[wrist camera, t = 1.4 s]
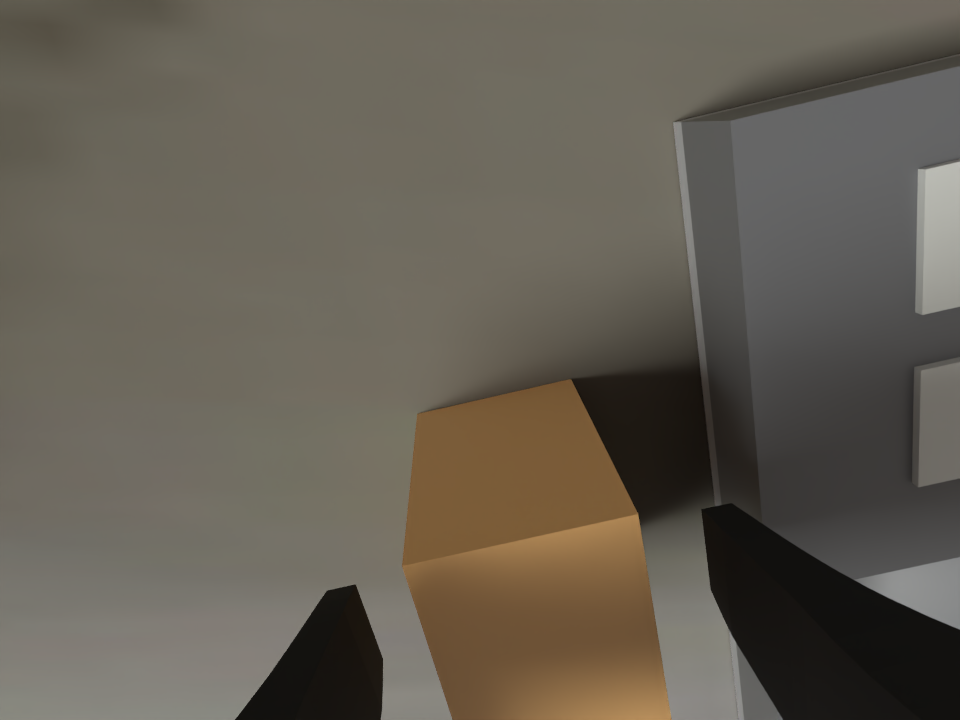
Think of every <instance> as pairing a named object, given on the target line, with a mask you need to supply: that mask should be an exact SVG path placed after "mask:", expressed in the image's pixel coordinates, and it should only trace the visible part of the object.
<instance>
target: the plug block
mask: <svg viewBox="0 0 960 720" xmlns="http://www.w3.org/2000/svg"><path fill="white" fill-rule="evenodd" d="M402 567H403V570H404V573H405V576H406V579H407V582H408V585H409V588H410V592H411V595H412V598H413V601H414V604H415V607H416V610H417V613H418V616H419V619H420V622H421V625H422V628H423V631H424V634H425V637H426V640H427V643H428V646H429V649H430V652H431V655H432V658H433V661H434V664H435V668H436V671H437V674H438V677H439V680H440V683H441V686H442V689H443V692H444V695H445V698H446V701H447V704H448V707H449V710H450V713H451V716H452V719H453V720H671V714H670V708H669V702H668V696H667V689H666V683H665V677H664V671H663V665H662V658H661V652H660V646H659V640H658V634H657V627H656V621H655V615H654V609H653V603H652V596H651V590H650V584H649V578H648V572H647V565H646V559H645V553H644V547H643V541H642V534H641V528H640V522H639V516H638V513H637V511H636V509H635V507H634V505H633V503H632V501H631V499H630V497H629V495H628V493H627V491H626V489H625V487H624V485H623V483H622V481H621V479H620V477H619V475H618V473H617V471H616V468H615V466H614V464H613V462H612V460H611V458H610V456H609V454H608V452H607V450H606V448H605V446H604V444H603V442H602V440H601V438H600V436H599V434H598V432H597V430H596V428H595V426H594V424H593V422H592V420H591V418H590V416H589V414H588V412H587V410H586V408H585V406H584V404H583V402H582V400H581V398H580V396H579V394H578V392H577V390H576V388H575V386H574V384H573V382H572V380H571V379H569V380H564V381H560V382H556V383H551V384H547V385H542V386H538V387H534V388H529V389H525V390H520V391H516V392H512V393H507V394H503V395H498V396H494V397H490V398H485V399H481V400H476V401H472V402H468V403H463V404H459V405H454V406H450V407H446V408H441V409H437V410H432V411H428V412H424V413H419V414H417V422H416V432H415V442H414V452H413V463H412V473H411V483H410V493H409V503H408V513H407V523H406V533H405V543H404V553H403V563H402Z"/></svg>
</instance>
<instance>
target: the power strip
mask: <svg viewBox="0 0 960 720" xmlns="http://www.w3.org/2000/svg"><path fill="white" fill-rule="evenodd" d="M673 125H674V134H675V143H676V152H677V162H678V171H679V180H680V189H681V198H682V207H683V216H684V225H685V235H686V244H687V253H688V262H689V271H690V280H691V289H692V298H693V308H694V317H695V326H696V335H697V344H698V353H699V362H700V371H701V381H702V390H703V399H704V408H705V417H706V426H707V435H708V444H709V453H710V463H711V472H712V481H713V490H714V499H715V506H720V505H724V504H729V503H732V504H734V505H735V506H737V507H738V508H740V509H741V510H743V511H744V512H746V513H747V514H749V515H750V516H752V517H753V518H755V519H756V520H758V521H759V522H761V523H762V524H764V525H765V526H767V527H768V528H770V529H771V530H773V531H774V532H776V533H777V534H779V535H780V536H782V537H783V538H785V539H786V540H788V541H789V542H791V543H793V544H794V545H796V546H797V547H799V548H800V549H802V550H804V551H805V552H807V553H809V554H810V555H812V556H813V557H815V558H817V559H818V560H820V561H822V562H823V563H825V564H827V565H828V566H830V567H832V568H833V569H835V570H837V571H839V572H841V573H842V574H844V575H846V576H848V577H850V578H851V579H853V580H855V581H857V582H859V583H861V584H862V585H864V586H866V587H868V588H870V589H872V590H874V591H876V592H878V593H880V594H882V595H884V596H886V597H888V598H890V599H892V600H894V601H896V602H898V603H901V604H903V605H905V606H907V607H909V608H911V609H913V610H916V611H918V612H920V613H922V614H924V615H926V616H929V617H931V618H933V619H936V620H938V621H940V622H943V623H945V624H948V625H950V626H952V627H955V628H958V629H960V54H957V55H953V56H949V57H944V58H940V59H936V60H932V61H928V62H923V63H919V64H915V65H911V66H907V67H902V68H898V69H894V70H890V71H886V72H882V73H877V74H873V75H869V76H865V77H861V78H856V79H852V80H848V81H844V82H840V83H835V84H831V85H827V86H823V87H819V88H814V89H810V90H806V91H802V92H798V93H793V94H789V95H785V96H781V97H777V98H773V99H768V100H764V101H760V102H756V103H752V104H747V105H743V106H739V107H735V108H731V109H726V110H722V111H718V112H714V113H710V114H705V115H701V116H697V117H693V118H689V119H685V120H680V121H676V122H673ZM729 636H730V645H731V654H732V663H733V672H734V682H735V691H736V700H737V709H738V718H739V720H783V719H782V717H781V716H780V714H779V712H778V711H777V709H776V707H775V706H774V704H773V702H772V701H771V699H770V698H769V696H768V694H767V693H766V691H765V689H764V688H763V686H762V685H761V683H760V681H759V680H758V678H757V676H756V675H755V673H754V671H753V670H752V668H751V667H750V665H749V663H748V662H747V660H746V658H745V657H744V655H743V653H742V652H741V650H740V648H739V647H738V645H737V643H736V642H735V640H734V638H733V637H732V635H731V632H730V630H729Z"/></svg>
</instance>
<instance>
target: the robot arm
mask: <svg viewBox="0 0 960 720" xmlns="http://www.w3.org/2000/svg"><path fill="white" fill-rule="evenodd" d="M701 510H702V519H703V527H704V536H705V544H706V553H707V561H708V570H709V578H710V587H711V591H712V593H713V595H714V598H715V600H716V602H717V604H718V607H719V609H720V611H721V613H722V615H723V618H724V620H725V622H726V624H727V626H728V628H729V630H730V632H731V635H732V637H733V638H734V640H735V642H736V643H737V645H738V647H739V648H740V650H741V652H742V653H743V655H744V657H745V658H746V660H747V662H748V663H749V665H750V667H751V668H752V670H753V671H754V673H755V675H756V676H757V678H758V680H759V681H760V683H761V685H762V686H763V688H764V689H765V691H766V693H767V694H768V696H769V698H770V699H771V701H772V702H773V704H774V706H775V707H776V709H777V711H778V712H779V714H780V716H781V717H782V719H783V720H960V629H958V628H955V627H952V626H950V625H948V624H945V623H943V622H940V621H938V620H936V619H933V618H931V617H929V616H926V615H924V614H922V613H920V612H918V611H916V610H913V609H911V608H909V607H907V606H905V605H903V604H901V603H898V602H896V601H894V600H892V599H890V598H888V597H886V596H884V595H882V594H880V593H878V592H876V591H874V590H872V589H870V588H868V587H866V586H864V585H862V584H861V583H859V582H857V581H855V580H853V579H851V578H850V577H848V576H846V575H844V574H842V573H841V572H839V571H837V570H835V569H833V568H832V567H830V566H828V565H827V564H825V563H823V562H822V561H820V560H818V559H817V558H815V557H813V556H812V555H810V554H809V553H807V552H805V551H804V550H802V549H800V548H799V547H797V546H796V545H794V544H793V543H791V542H789V541H788V540H786V539H785V538H783V537H782V536H780V535H779V534H777V533H776V532H774V531H773V530H771V529H770V528H768V527H767V526H765V525H764V524H762V523H761V522H759V521H758V520H756V519H755V518H753V517H752V516H750V515H749V514H747V513H746V512H744V511H743V510H741V509H740V508H738V507H737V506H735V505H734V504H732V503H729V504H724V505H720V506H715V507H710V508H706V509H701ZM382 691H383V658H382V655H381V652H380V650H379V647H378V644H377V641H376V639H375V636H374V633H373V631H372V628H371V625H370V622H369V620H368V617H367V614H366V611H365V609H364V606H363V603H362V601H361V598H360V595H359V592H358V590H357V587H356V585H351V586H347V587H342V588H337V589H333V590H328V591H327V592H326V593H325V594H324V596H323V597H322V599H321V600H320V602H319V603H318V605H317V606H316V608H315V609H314V611H313V612H312V613H311V615H310V616H309V618H308V619H307V621H306V622H305V624H304V625H303V627H302V628H301V630H300V631H299V633H298V634H297V636H296V637H295V639H294V640H293V642H292V643H291V645H290V646H289V648H288V649H287V651H286V652H285V653H284V655H283V656H282V658H281V659H280V661H279V662H278V663H277V665H276V666H275V668H274V669H273V671H272V672H271V673H270V675H269V676H268V677H267V679H266V680H265V681H264V683H263V684H262V685H261V687H260V688H259V689H258V691H257V692H256V693H255V695H254V696H253V697H252V698H251V700H250V701H249V702H248V704H247V705H246V706H245V708H244V709H243V710H242V712H241V713H240V714H239V715H238V717H237V718H236V719H235V720H381V712H382Z"/></svg>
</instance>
